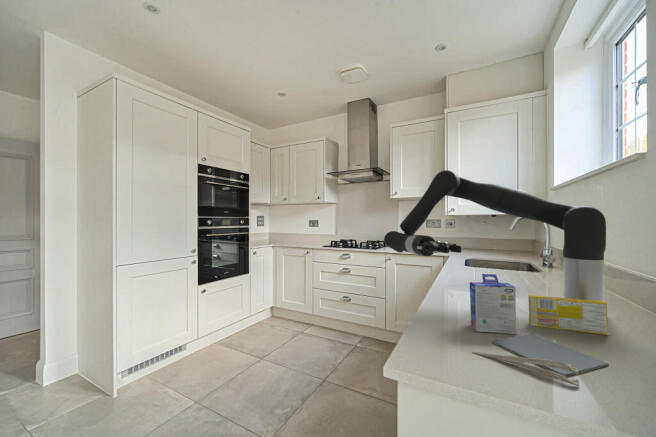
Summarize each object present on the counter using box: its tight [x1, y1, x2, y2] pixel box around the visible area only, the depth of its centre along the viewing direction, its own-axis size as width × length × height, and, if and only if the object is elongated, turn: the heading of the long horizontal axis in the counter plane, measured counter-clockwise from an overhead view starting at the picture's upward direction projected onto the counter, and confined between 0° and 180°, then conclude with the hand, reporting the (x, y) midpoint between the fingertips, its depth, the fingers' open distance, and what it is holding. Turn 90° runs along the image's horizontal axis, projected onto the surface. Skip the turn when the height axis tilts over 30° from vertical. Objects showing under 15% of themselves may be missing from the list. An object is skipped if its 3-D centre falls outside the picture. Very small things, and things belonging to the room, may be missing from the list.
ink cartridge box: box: [469, 273, 517, 335], centre depth 72 cm, size 10×6×14 cm, turn 78°
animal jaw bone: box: [471, 350, 580, 387], centre depth 54 cm, size 18×5×2 cm, turn 47°
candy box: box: [528, 294, 610, 336], centre depth 72 cm, size 16×2×8 cm, turn 65°
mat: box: [491, 332, 609, 378], centre depth 59 cm, size 13×15×1 cm
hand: (454, 249), depth 85 cm, fingers open, 4 cm apart
